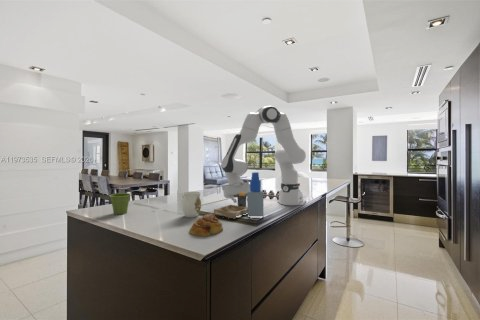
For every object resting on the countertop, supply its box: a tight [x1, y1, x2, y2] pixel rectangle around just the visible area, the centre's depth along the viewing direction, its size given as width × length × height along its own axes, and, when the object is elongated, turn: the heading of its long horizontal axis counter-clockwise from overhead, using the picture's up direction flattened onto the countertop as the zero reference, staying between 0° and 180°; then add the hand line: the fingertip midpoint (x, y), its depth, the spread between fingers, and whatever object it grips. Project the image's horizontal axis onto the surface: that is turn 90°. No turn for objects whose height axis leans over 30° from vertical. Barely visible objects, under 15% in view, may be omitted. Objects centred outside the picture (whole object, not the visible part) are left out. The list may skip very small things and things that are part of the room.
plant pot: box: [108, 192, 132, 216], centre depth 146 cm, size 12×12×11 cm
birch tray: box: [213, 204, 248, 217], centre depth 141 cm, size 15×15×4 cm
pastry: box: [188, 212, 224, 237], centre depth 113 cm, size 13×15×8 cm
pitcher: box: [181, 191, 202, 218], centre depth 140 cm, size 11×18×14 cm, turn 162°
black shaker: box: [236, 195, 247, 207], centre depth 155 cm, size 6×6×9 cm
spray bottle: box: [246, 171, 264, 217], centre depth 136 cm, size 9×9×25 cm
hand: (242, 201), depth 154 cm, fingers open, 8 cm apart
